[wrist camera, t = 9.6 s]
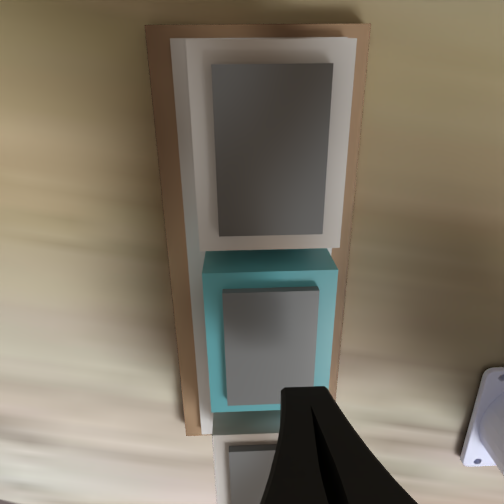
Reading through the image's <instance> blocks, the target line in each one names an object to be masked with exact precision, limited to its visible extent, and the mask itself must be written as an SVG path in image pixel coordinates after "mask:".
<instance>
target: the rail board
mask: <svg viewBox="0 0 504 504" xmlns="http://www.w3.org/2000/svg"><path fill="white" fill-rule="evenodd" d="M370 29H371V24H231V25H145V33H146V43H147V53H148V62H149V72H150V82H151V92H152V102H153V112H154V122H155V132H156V141H157V151H158V161H159V171H160V181H161V191H162V201H163V211H164V220H165V230H166V240H167V250H168V260H169V270H170V280H171V290H172V300H173V309H174V319H175V329H176V339H177V349H178V359H179V369H180V379H181V388H182V398H183V408H184V418H185V428H186V436H198V435H212V442H213V457H214V472H215V487H216V502H217V504H260V502H261V499H262V496H263V493H264V490H265V487H266V484H267V480H268V477H269V474H270V470H271V466H272V462H273V458H274V454H275V450H276V446H277V441H278V435H279V429H280V410H266V411H240V412H214V413H211V399H210V385H209V370H208V356H207V341H206V327H205V312H204V298H203V283H202V270H203V264H204V258H205V252H206V251H228V250H270V249H313V248H327V249H328V251H329V253H330V255H331V257H332V259H333V261H334V262H335V264H336V266H337V268H338V280H337V293H336V305H335V317H334V330H333V342H332V354H331V367H330V379H329V392H330V394H331V395H332V397H333V399H334V400H336V389H337V379H338V368H339V357H340V347H341V336H342V325H343V315H344V304H345V294H346V283H347V272H348V262H349V251H350V241H351V230H352V219H353V209H354V198H355V188H356V177H357V166H358V156H359V145H360V135H361V124H362V113H363V103H364V92H365V82H366V71H367V60H368V50H369V39H370Z"/></svg>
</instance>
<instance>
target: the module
mask: <svg viewBox="0 0 504 504" xmlns="http://www.w3.org/2000/svg"><path fill="white" fill-rule="evenodd" d="M337 280H338V268H337V266H336V264H335V262H334V261H333V259H332V257H331V255H330V253H329V251H328V249H327V248H313V249H270V250H228V251H206V252H205V258H204V264H203V270H202V283H203V298H204V312H205V327H206V341H207V356H208V370H209V385H210V399H211V413H214V412H240V411H266V410H280V403H281V390H282V389H283V388H284V387H311V386H325V387H326V388H327V389H328V390H329V379H330V367H331V354H332V342H333V330H334V317H335V305H336V293H337Z"/></svg>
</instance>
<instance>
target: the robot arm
mask: <svg viewBox="0 0 504 504" xmlns="http://www.w3.org/2000/svg"><path fill="white" fill-rule="evenodd" d="M500 375H501V376H500ZM460 460H461V462H462V463H463V465H465V466H493V465H497V467H498V468H499V470H500V471H501V473H502V474H503V476H504V367H494V368H489V369H487V370H486V371H485V372H484V373H483V376H482V380H481V383H480V387H479V391H478V394H477V398H476V402H475V405H474V409H473V413H472V416H471V420H470V424H469V427H468V431H467V435H466V438H465V442H464V445H463V449H462V453H461V456H460ZM260 504H418V503H417V502H416V501H415V500H414V499H413V498H412V497H411V496H410V495H409V494H408V493H407V492H406V491H405V490H404V489H403V488H402V487H401V486H400V485H399V484H398V483H397V481H396V480H395V479H394V478H393V477H392V476H391V475H390V474H389V472H388V471H387V470H386V469H385V468H384V467H383V465H382V464H381V463H380V462H379V461H378V459H377V458H376V457H375V456H374V455H373V453H372V452H371V451H370V450H369V448H368V447H367V446H366V444H365V443H364V442H363V440H362V439H361V438H360V436H359V435H358V434H357V432H356V431H355V430H354V428H353V427H352V426H351V424H350V423H349V421H348V420H347V418H346V417H345V415H344V414H343V413H342V411H341V410H340V408H339V406H338V405H337V403H336V402H335V400H334V399H333V397H332V395H331V394H330V392H329V390H328V389H327V388H326V387H325V386H311V387H284V388H283V389H282V390H281V403H280V429H279V435H278V441H277V446H276V450H275V454H274V458H273V462H272V466H271V470H270V474H269V477H268V480H267V484H266V487H265V490H264V493H263V496H262V499H261V502H260Z"/></svg>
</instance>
